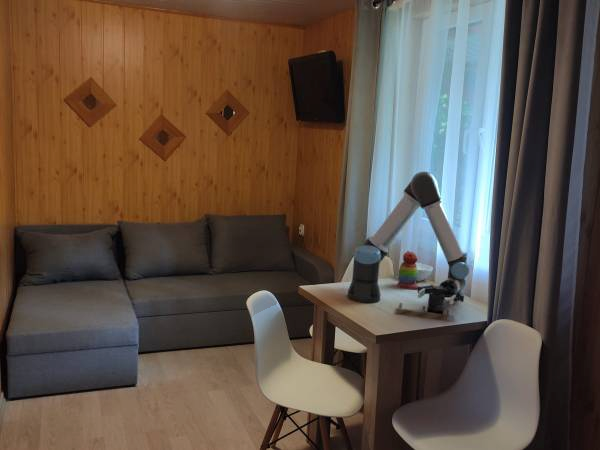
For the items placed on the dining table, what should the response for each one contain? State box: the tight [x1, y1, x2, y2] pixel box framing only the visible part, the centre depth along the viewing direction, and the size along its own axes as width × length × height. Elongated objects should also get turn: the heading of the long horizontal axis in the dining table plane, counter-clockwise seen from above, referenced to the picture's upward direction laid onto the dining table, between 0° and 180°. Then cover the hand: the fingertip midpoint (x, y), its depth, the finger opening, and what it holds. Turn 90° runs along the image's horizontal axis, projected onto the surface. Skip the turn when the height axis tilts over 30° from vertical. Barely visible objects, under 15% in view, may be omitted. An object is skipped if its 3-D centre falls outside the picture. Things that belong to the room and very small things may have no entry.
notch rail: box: [396, 302, 450, 321], centre depth 251 cm, size 21×10×2 cm, turn 75°
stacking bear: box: [397, 250, 419, 291], centre depth 294 cm, size 11×10×18 cm
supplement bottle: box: [426, 285, 446, 314], centre depth 250 cm, size 7×7×12 cm
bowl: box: [415, 262, 434, 282], centre depth 311 cm, size 16×16×7 cm
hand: (434, 298), depth 246 cm, fingers open, 13 cm apart
